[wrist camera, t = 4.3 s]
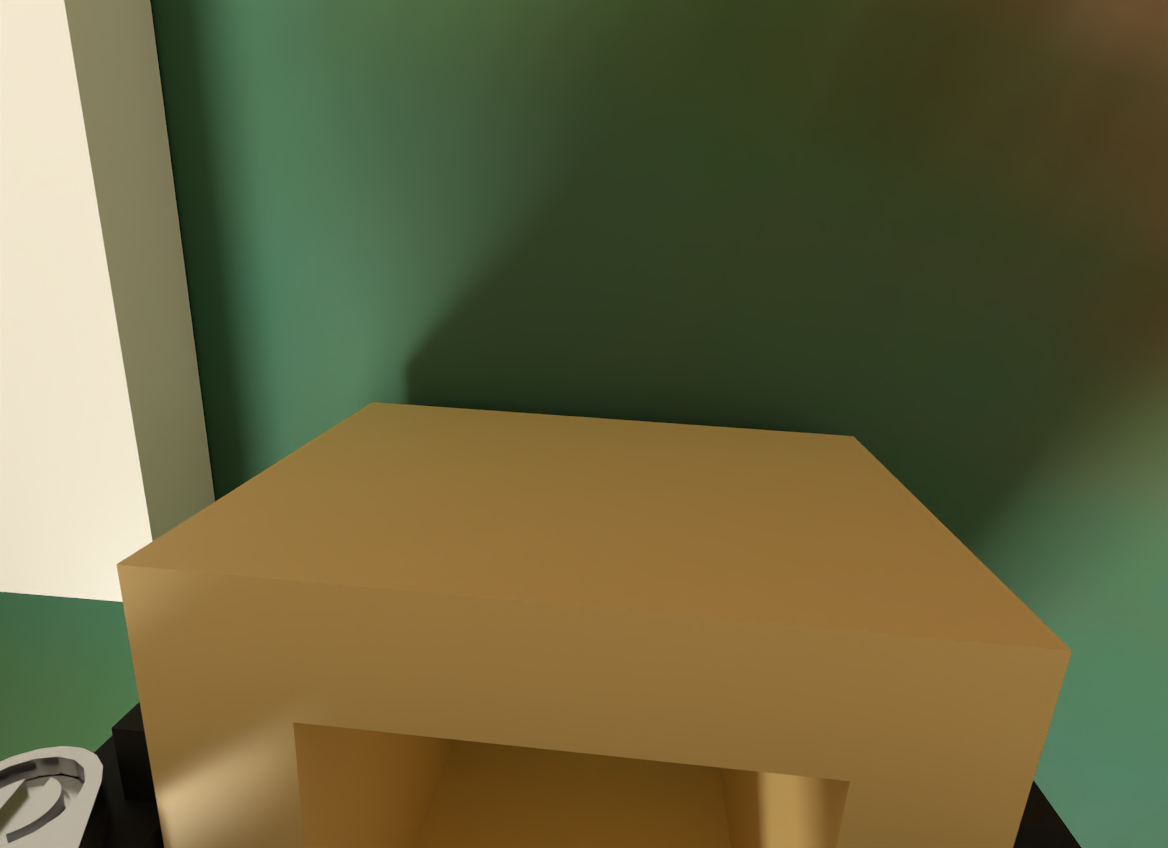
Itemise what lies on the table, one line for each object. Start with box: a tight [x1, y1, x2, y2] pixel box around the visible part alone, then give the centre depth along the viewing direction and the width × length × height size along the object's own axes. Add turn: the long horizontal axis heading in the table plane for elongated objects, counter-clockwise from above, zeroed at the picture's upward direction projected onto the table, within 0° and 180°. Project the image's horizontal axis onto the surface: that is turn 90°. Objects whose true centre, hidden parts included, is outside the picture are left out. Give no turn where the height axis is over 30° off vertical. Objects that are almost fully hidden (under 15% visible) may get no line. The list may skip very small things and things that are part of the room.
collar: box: [116, 402, 1072, 848], centre depth 8 cm, size 7×7×5 cm
